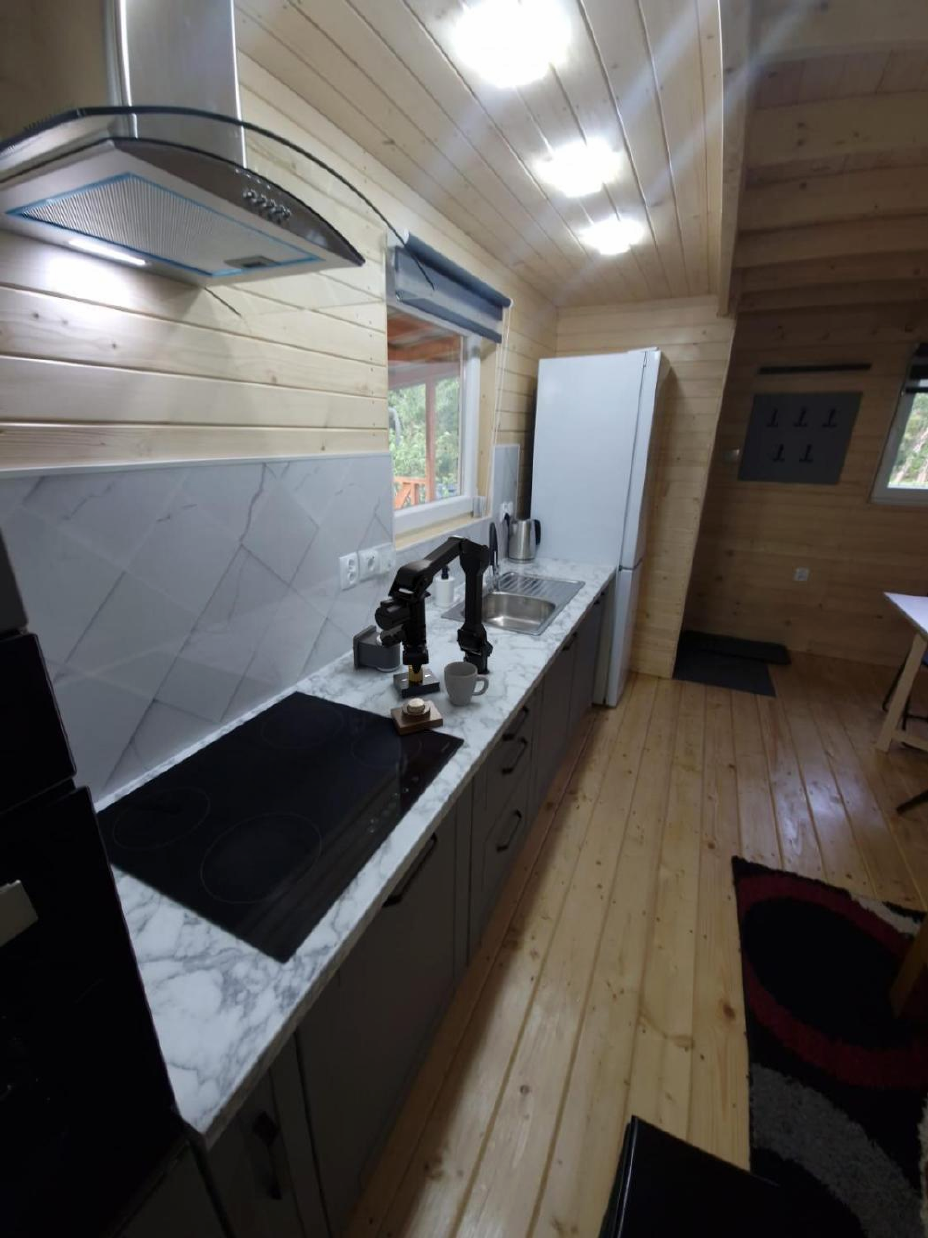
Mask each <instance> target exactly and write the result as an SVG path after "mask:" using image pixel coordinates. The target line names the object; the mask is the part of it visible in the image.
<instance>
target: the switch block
mask: <svg viewBox="0 0 928 1238" xmlns="http://www.w3.org/2000/svg"><path fill="white" fill-rule="evenodd" d="M409 701H410V700H408V701H407V702H405V703H404V704H403V705H402V706H397V707H393V708H390V717H391V720H392V721H393V723H394V725H395V727H396V728H397V731H398V733H399V735H400V736H403V735H407V734H411V733H416V732H421V731H425V730H429V729H434V728H438V727H443V726H444V717H443V716H442V714H441V712H440V711H439V710H438V708H437V707H436V706H435V704H434V702H433V701H432V700H426V701H425V700H423V701H424V710H423V711H421V712H411V711H409V710H408V702H409Z"/></svg>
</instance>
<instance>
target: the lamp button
mask: <svg viewBox="0 0 928 1238" xmlns="http://www.w3.org/2000/svg"><path fill="white" fill-rule="evenodd" d="M408 701H409V702H408ZM408 701H407V702H408V710H409V711H411V712H421V711H423V710H424V701H425V700H423V699H422V698H418V697H417V698H412V699H409V700H408Z"/></svg>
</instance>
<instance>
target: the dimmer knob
mask: <svg viewBox="0 0 928 1238" xmlns="http://www.w3.org/2000/svg"><path fill="white" fill-rule="evenodd" d="M407 668H408V672H409V680H411V681H415V682H416V681H421V680H422V679H423V669H424V665H422V667H421V669H420V671H419V673H418V674H414V672H413V668H412V665H407Z"/></svg>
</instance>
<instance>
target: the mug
mask: <svg viewBox="0 0 928 1238" xmlns="http://www.w3.org/2000/svg"><path fill="white" fill-rule="evenodd" d="M443 677H444V687H445V690H446V692H447V696H448V697H449V699H450V702H451V703H452V704H453V705H456V706H466V705H468V704H470V702H471V699H472V697H478V696H479V697H480V696H483V695H484V694H485V693H486V692H487V690H488V688H489V686H490V681H489V678H488V676H487V675H486V674H482V675H478V674H477V668H476V666H475V665H473V664H471V663H468V662H463V661H452V662H450V663H448V664H446V665H445V666H444V669H443ZM477 682H483V686H482V689H480V690H478V691H475V690H476V687H477Z"/></svg>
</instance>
